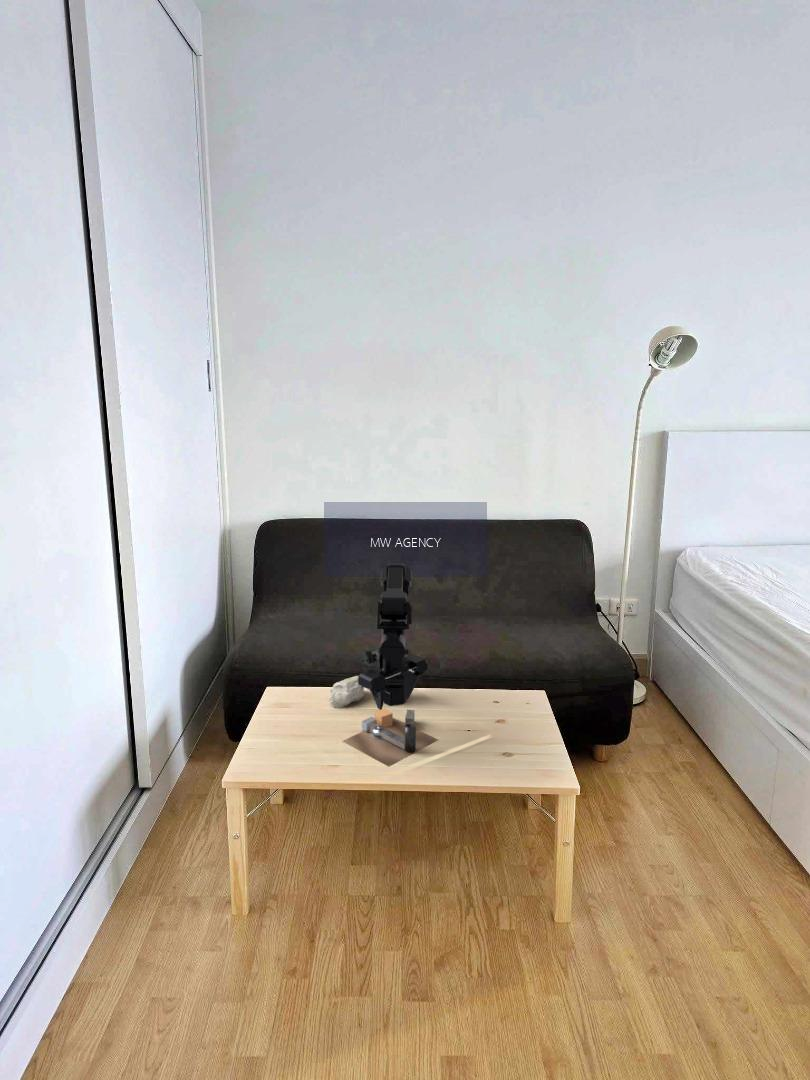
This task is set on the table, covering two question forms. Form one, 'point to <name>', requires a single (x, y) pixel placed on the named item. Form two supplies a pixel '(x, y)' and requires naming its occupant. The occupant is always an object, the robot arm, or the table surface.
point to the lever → (392, 734)
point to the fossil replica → (346, 692)
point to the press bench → (386, 749)
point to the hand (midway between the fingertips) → (393, 703)
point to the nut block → (384, 717)
